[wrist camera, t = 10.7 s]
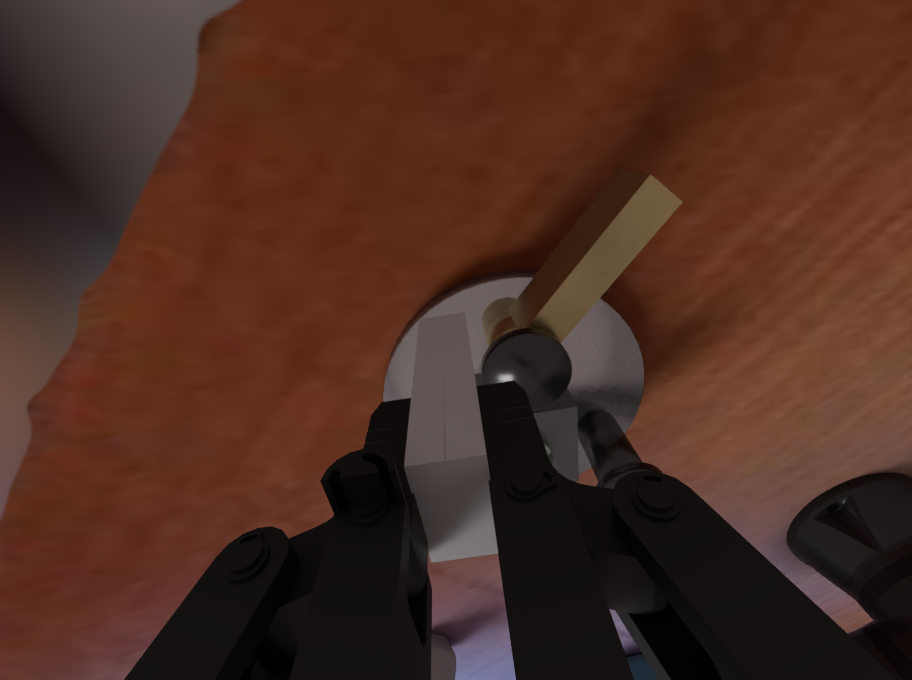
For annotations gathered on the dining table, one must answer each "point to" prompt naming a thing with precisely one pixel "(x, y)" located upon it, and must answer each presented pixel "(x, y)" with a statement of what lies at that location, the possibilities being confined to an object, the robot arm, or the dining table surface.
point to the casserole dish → (641, 668)
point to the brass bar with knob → (571, 286)
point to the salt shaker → (442, 659)
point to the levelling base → (588, 394)
